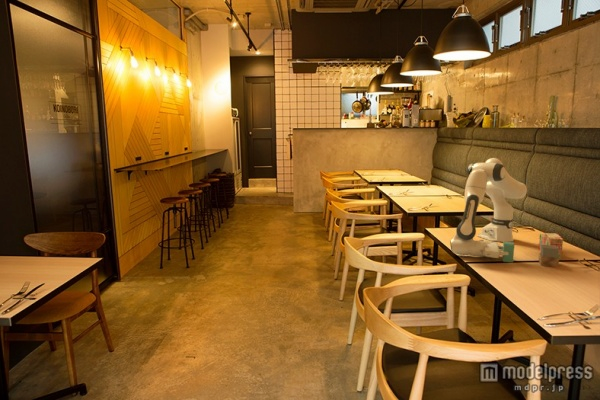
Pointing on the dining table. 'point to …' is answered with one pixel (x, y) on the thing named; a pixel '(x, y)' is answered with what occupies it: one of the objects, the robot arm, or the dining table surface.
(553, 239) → the stack of blocks
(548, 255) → the tower top
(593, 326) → the dining table surface
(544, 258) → the tower base
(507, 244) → the teal pillar
